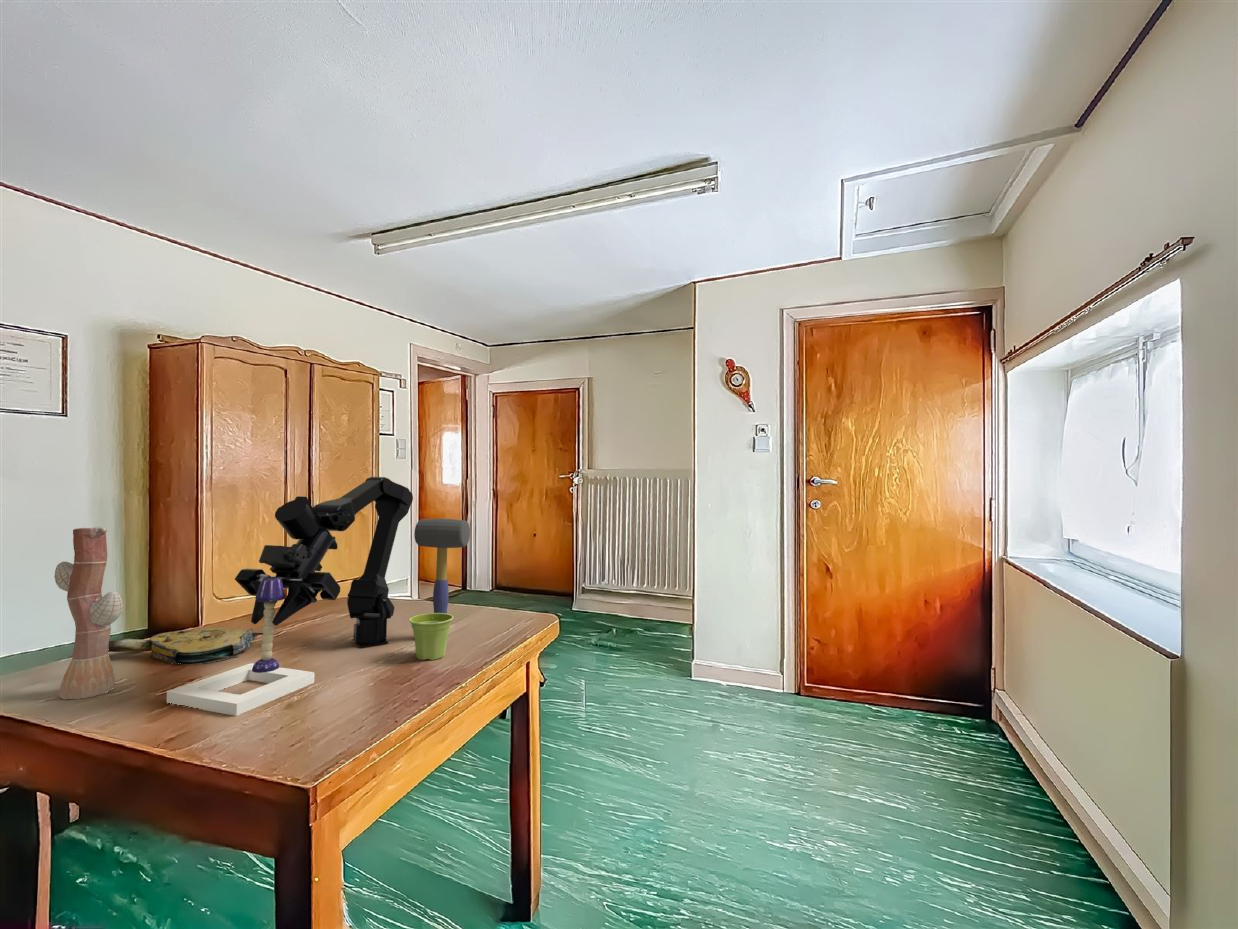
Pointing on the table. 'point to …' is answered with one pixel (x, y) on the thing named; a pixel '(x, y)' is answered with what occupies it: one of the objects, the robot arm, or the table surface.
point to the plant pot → (431, 634)
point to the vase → (88, 615)
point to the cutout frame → (211, 699)
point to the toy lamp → (268, 621)
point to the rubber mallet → (442, 550)
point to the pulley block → (190, 645)
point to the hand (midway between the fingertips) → (263, 623)
